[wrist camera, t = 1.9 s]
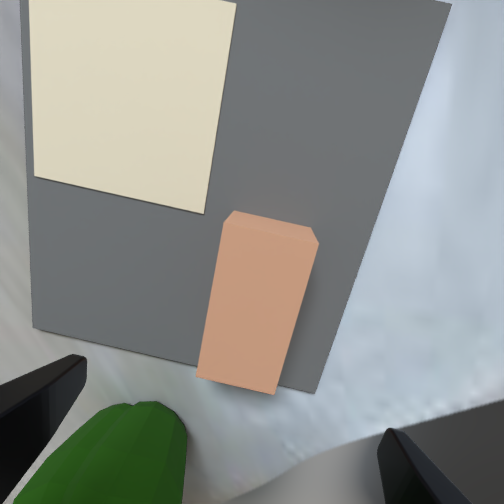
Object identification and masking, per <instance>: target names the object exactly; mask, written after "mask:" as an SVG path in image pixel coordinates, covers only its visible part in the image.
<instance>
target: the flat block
mask: <svg viewBox="0 0 504 504" xmlns="http://www.w3.org/2000/svg"><path fill="white" fill-rule="evenodd" d="M318 246H319V243H318V241H317V239H316V237H315V235H314V233H313V231H312V229H311V228H310V227H306V226H301V225H297V224H292V223H288V222H283V221H279V220H275V219H270V218H266V217H261V216H257V215H252V214H248V213H243V212H239V211H233V212H232V213H231V215H230V216H229V217H228V218H227V219H226V220H225V221H224V223H223V229H222V234H221V240H220V245H219V251H218V256H217V262H216V268H215V273H214V279H213V284H212V290H211V295H210V301H209V306H208V312H207V317H206V323H205V328H204V334H203V339H202V345H201V350H200V356H199V361H198V367H197V372H196V377H199V378H203V379H207V380H212V381H216V382H220V383H225V384H229V385H233V386H237V387H242V388H246V389H250V390H255V391H259V392H263V393H267V394H272V395H274V394H275V391H276V387H277V384H278V381H279V377H280V374H281V371H282V367H283V364H284V360H285V357H286V354H287V350H288V347H289V344H290V340H291V337H292V333H293V330H294V327H295V323H296V320H297V317H298V313H299V310H300V306H301V303H302V300H303V296H304V293H305V290H306V286H307V283H308V280H309V276H310V273H311V269H312V266H313V263H314V259H315V256H316V253H317V249H318Z"/></svg>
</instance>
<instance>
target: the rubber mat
mask: <svg viewBox="0 0 504 504" xmlns="http://www.w3.org/2000/svg"><path fill="white" fill-rule="evenodd" d="M451 6H452V4H450V3H445V2H440V1H435V0H20V19H21V45H22V70H23V95H24V120H25V145H26V171H27V196H28V221H29V246H30V271H31V297H32V322H33V328H36V329H40V330H44V331H48V332H53V333H57V334H61V335H66V336H70V337H74V338H79V339H83V340H87V341H91V342H96V343H100V344H104V345H109V346H113V347H117V348H121V349H126V350H130V351H134V352H139V353H143V354H147V355H152V356H156V357H160V358H164V359H169V360H173V361H177V362H182V363H186V364H190V365H195V366H198V361H199V356H200V350H201V345H202V339H203V334H204V328H205V323H206V317H207V312H208V306H209V301H210V295H211V290H212V284H213V279H214V273H215V268H216V262H217V256H218V251H219V245H220V240H221V234H222V229H223V223H224V221H225V220H226V219H227V218H228V217H229V216H230V215H231V213H232V212H233V211H239V212H243V213H248V214H252V215H257V216H261V217H266V218H270V219H275V220H279V221H283V222H288V223H292V224H297V225H301V226H306V227H310V228H311V229H312V231H313V233H314V235H315V237H316V239H317V241H318V243H319V246H318V249H317V253H316V256H315V259H314V263H313V266H312V269H311V273H310V276H309V280H308V283H307V286H306V290H305V293H304V296H303V300H302V303H301V306H300V310H299V313H298V317H297V320H296V323H295V327H294V330H293V333H292V337H291V340H290V344H289V347H288V350H287V354H286V357H285V360H284V364H283V367H282V371H281V374H280V377H279V381H278V384H277V385H280V386H285V387H289V388H293V389H298V390H302V391H306V392H311V393H315V392H316V389H317V386H318V383H319V380H320V377H321V375H322V372H323V369H324V366H325V363H326V360H327V358H328V355H329V352H330V349H331V346H332V343H333V341H334V338H335V335H336V332H337V329H338V326H339V324H340V321H341V318H342V315H343V312H344V309H345V307H346V304H347V301H348V298H349V295H350V292H351V290H352V287H353V284H354V281H355V278H356V275H357V273H358V270H359V267H360V264H361V261H362V258H363V256H364V253H365V250H366V247H367V244H368V241H369V239H370V236H371V233H372V230H373V227H374V224H375V222H376V219H377V216H378V213H379V210H380V207H381V205H382V202H383V199H384V196H385V193H386V190H387V188H388V185H389V182H390V179H391V176H392V173H393V171H394V168H395V165H396V162H397V159H398V156H399V154H400V151H401V148H402V145H403V142H404V139H405V137H406V134H407V131H408V128H409V125H410V122H411V120H412V117H413V114H414V111H415V108H416V105H417V103H418V100H419V97H420V94H421V91H422V88H423V86H424V83H425V80H426V77H427V74H428V71H429V69H430V66H431V63H432V60H433V57H434V54H435V52H436V49H437V46H438V43H439V40H440V37H441V35H442V32H443V29H444V26H445V23H446V20H447V18H448V15H449V12H450V9H451Z"/></svg>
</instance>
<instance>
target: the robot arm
mask: <svg viewBox="0 0 504 504" xmlns="http://www.w3.org/2000/svg"><path fill="white" fill-rule="evenodd" d="M86 379H87V359H86V357H84V356H80V355H75V354H72V355H68V356H66V357H64V358H62V359H59V360H57V361H55V362H52V363H50V364H48V365H46V366H43V367H41V368H39V369H36V370H34V371H32V372H30V373H27V374H25V375H23V376H20V377H18V378H16V379H14V380H11V381H9V382H7V383H4V384H2V385H0V504H2V503H3V502H4V501H5V499H6V498H7V497H8V496H9V494H10V493H11V492H12V490H13V489H14V488H15V486H16V485H17V484H18V482H19V481H20V480H21V478H22V477H23V476H24V474H25V473H26V472H27V470H28V469H29V468H30V467H31V465H32V464H33V463H34V461H35V460H36V459H37V457H38V456H39V455H40V453H41V452H42V451H43V449H44V448H45V447H46V445H47V444H48V442H49V441H50V440H51V438H52V437H53V435H54V434H55V432H56V431H57V429H58V427H59V426H60V424H61V423H62V421H63V419H64V418H65V416H66V415H67V413H68V411H69V410H70V408H71V407H72V405H73V403H74V402H75V400H76V399H77V397H78V395H79V394H80V392H81V391H82V389H83V387H84V385H85V383H86ZM377 458H378V464H379V469H380V475H381V481H382V487H383V493H384V498H385V504H472V503H471V502H470V501H469V500H468V499H467V498H466V497H465V496H464V495H463V493H462V492H461V491H460V490H459V489H458V488H457V487H456V486H455V485H454V484H453V483H452V482H451V481H450V480H449V479H448V477H446V475H445V474H444V473H443V472H442V471H441V470H440V469H439V468H438V467H437V466H436V465H435V464H434V463H433V462H432V461H431V460H430V459H429V458H428V456H427V455H426V454H425V453H424V452H423V451H422V450H421V449H420V448H419V447H418V446H417V445H416V444H415V443H414V442H413V441H412V440H411V438H410V437H409V436H408V435H407V434H406V433H405V432H403V431H402V430H398V429H394V428H388V429H387V430H386V431H385V433H384V435H383V437H382V440H381V442H380V444H379V446H378V449H377Z"/></svg>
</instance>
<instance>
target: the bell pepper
mask: <svg viewBox="0 0 504 504" xmlns="http://www.w3.org/2000/svg"><path fill="white" fill-rule="evenodd" d="M186 449H187V434H186V431H185V427H184V425H183V424H182V422H181V421H180V419H179V418H178V417H177V415H176V414H175V413H174V412H173V411H172V410H170V409H169V408H167V407H165V406H164V405H162V404H160V403H159V402H157V401H150V402H138V403H137V404H135V405H134V406H131V405H128V404H126V403H122V404H116V405H112V406H110V407H108V408H105V409H103V410H101V411H99V412H98V413H97V414H96V415H94V416H93V417H92V418H91V419H90V420H88V421H87V422H86V423H85V424H84V425H82V426H81V427H80V428H79V429H78V430H77V431H76V432H75V433H74V434H72V435H71V436H70V437H69V438H68V439H67V440H66V441H65V442H64V443H63V444H62V445H61V446H60V447H58V448H57V449H56V450H55V451H54V452H53V453H52V454H51V455H50V456H49V457H48V458H47V459H46V460H45V461H44V463H43V464H42V465H41V466H40V468H39V469H38V470H37V471H36V473H35V474H34V475H33V477H32V478H31V479H30V480H29V482H28V483H27V484H26V485H25V487H24V488H23V489H22V490H21V492H20V493H19V494H18V495H17V497H16V498H15V499H14V502H13V504H182V496H183V485H184V474H185V464H186Z"/></svg>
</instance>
